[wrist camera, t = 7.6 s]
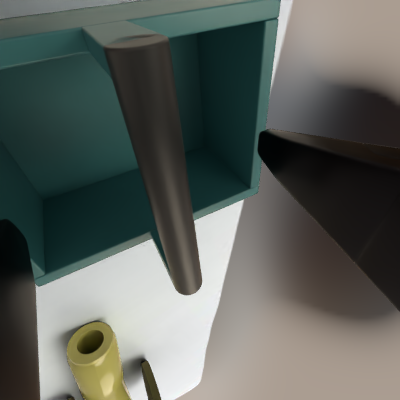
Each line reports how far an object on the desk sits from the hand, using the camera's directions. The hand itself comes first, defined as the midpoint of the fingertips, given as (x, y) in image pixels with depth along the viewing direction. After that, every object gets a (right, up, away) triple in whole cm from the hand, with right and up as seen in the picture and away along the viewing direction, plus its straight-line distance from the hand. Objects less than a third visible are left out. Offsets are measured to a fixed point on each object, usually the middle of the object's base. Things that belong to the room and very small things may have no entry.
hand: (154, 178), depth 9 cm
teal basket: (-3, +4, +5) cm, 7 cm away
